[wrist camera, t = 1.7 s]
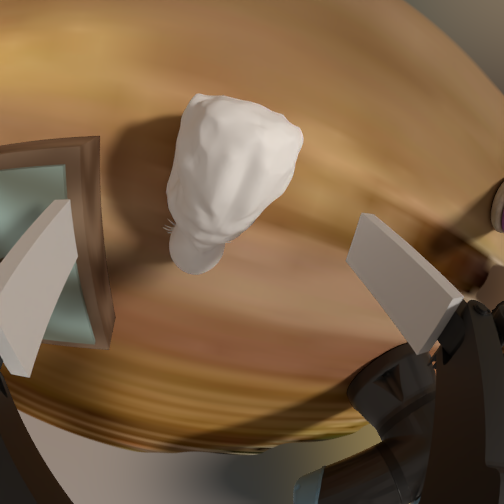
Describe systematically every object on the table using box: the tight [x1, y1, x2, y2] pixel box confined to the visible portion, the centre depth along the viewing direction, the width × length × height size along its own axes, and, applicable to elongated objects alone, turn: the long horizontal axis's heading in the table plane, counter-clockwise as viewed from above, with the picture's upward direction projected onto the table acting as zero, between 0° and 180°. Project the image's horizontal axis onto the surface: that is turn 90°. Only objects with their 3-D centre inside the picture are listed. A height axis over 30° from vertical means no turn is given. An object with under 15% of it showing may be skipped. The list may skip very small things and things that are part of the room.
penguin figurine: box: [162, 94, 303, 275], centre depth 17 cm, size 6×8×12 cm
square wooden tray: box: [0, 136, 116, 350], centre depth 17 cm, size 16×16×4 cm
